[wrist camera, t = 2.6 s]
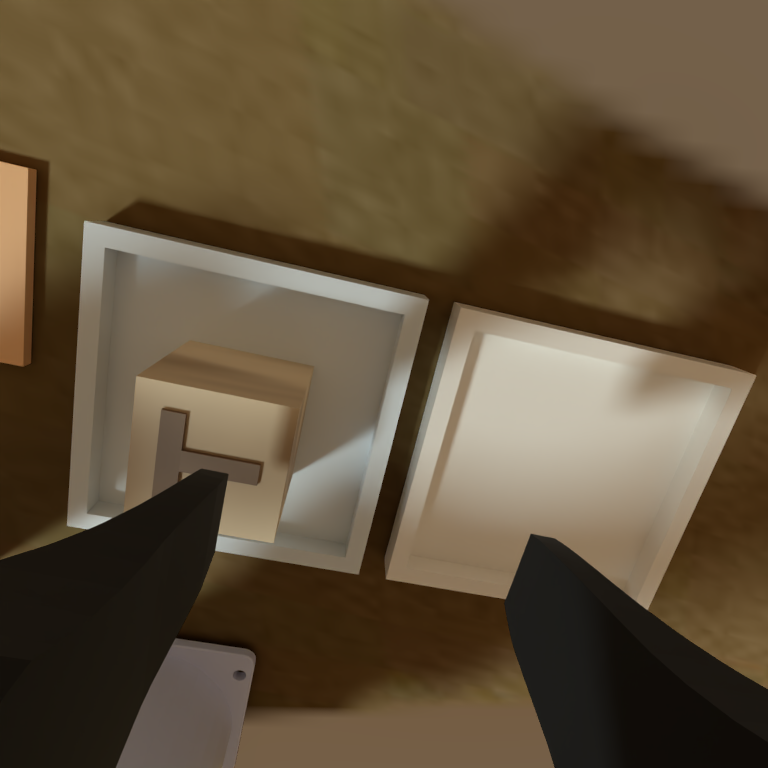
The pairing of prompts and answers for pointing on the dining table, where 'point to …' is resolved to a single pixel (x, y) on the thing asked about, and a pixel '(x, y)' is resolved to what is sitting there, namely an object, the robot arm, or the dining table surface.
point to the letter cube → (220, 430)
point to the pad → (16, 262)
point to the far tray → (557, 454)
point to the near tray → (254, 335)
